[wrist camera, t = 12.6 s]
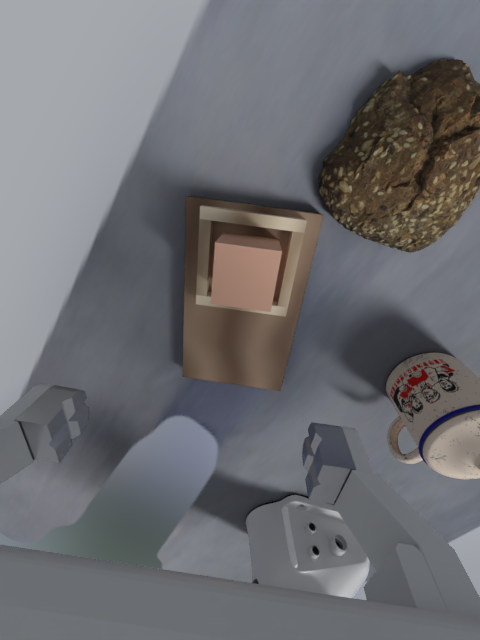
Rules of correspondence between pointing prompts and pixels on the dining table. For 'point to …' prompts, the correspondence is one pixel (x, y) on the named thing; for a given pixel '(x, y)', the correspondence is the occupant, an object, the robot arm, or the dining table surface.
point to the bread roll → (408, 158)
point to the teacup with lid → (437, 414)
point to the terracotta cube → (245, 271)
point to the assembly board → (238, 323)
